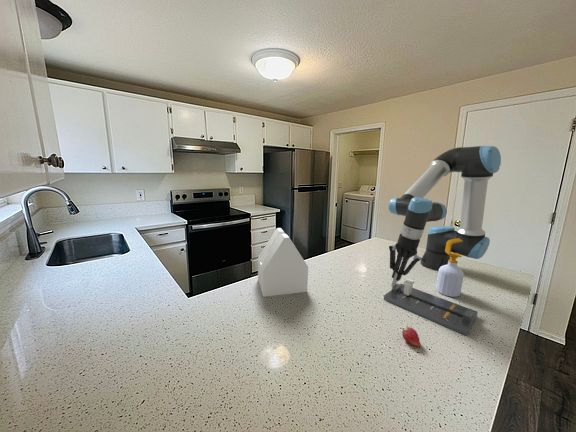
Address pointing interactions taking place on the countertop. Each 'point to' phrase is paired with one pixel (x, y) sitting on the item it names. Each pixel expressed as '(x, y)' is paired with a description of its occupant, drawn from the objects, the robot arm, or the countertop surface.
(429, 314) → the console
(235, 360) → the countertop surface
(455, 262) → the soap bottle
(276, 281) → the white toy house
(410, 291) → the fader
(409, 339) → the fruit
